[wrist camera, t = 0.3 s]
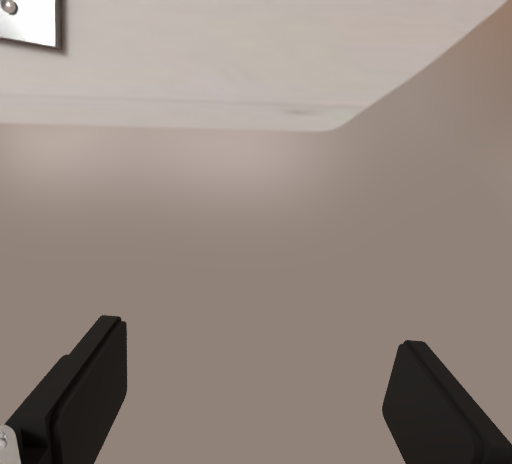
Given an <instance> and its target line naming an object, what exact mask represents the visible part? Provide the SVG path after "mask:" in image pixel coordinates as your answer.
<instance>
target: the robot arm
mask: <svg viewBox="0 0 512 464" xmlns="http://www.w3.org/2000/svg"><path fill="white" fill-rule="evenodd" d="M126 392H127V331H126V322H123V321H121V318H120V317H118V316H117V317H116V316H106V315H102V316H101V317H100V318H99V319H98V320H97V321H96V322H95V324H94V325H93V326H92V327H91V329H90V330H89V331H88V332H87V333H86V335H85V336H84V337H83V338H82V339H81V341H80V342H79V343H78V344H77V345H76V347H75V348H74V349H73V350H72V352H71V353H70V354H69V355H64V356H63V357H62V358H60V359H59V361H58V362H57V363H56V364H55V365H54V366H53V368H52V369H51V370H50V372H48V374H47V375H46V376H45V377H44V378H43V379H42V381H41V382H40V383H39V384H38V385H37V386H36V388H35V389H34V390H33V391H32V392H31V394H30V395H29V396H28V397H27V398H26V399H25V401H24V402H23V403H22V404H21V405H20V407H19V408H18V409H17V410H16V411H15V412H14V414H13V415H12V416H11V417H10V418H9V420H8V421H7V422H6V423H5V424H4V425H1V424H0V464H94V462H95V460H96V458H97V456H98V454H99V452H100V450H101V447H102V445H103V443H104V441H105V439H106V437H107V435H108V433H109V431H110V428H111V426H112V424H113V422H114V420H115V418H116V416H117V414H118V412H119V409H120V407H121V405H122V403H123V401H124V399H125V396H126ZM382 412H383V416H384V419H385V421H386V423H387V425H388V427H389V429H390V431H391V433H392V436H393V438H394V440H395V442H396V444H397V446H398V448H399V450H400V453H401V455H402V457H403V459H404V461H405V463H406V464H512V445H511V443H510V442H509V441H508V440H507V438H506V437H505V436H504V435H503V434H502V433H501V431H500V430H499V429H498V428H497V427H496V425H495V424H494V423H493V422H492V421H491V420H490V418H489V417H488V416H487V415H486V414H485V413H484V411H483V410H482V409H481V408H480V407H479V405H477V403H476V402H475V401H474V400H473V399H472V397H471V396H470V395H469V394H468V393H467V391H466V390H465V389H464V388H463V387H462V385H461V384H460V383H459V382H458V381H457V380H456V378H455V377H454V376H453V375H452V374H451V372H450V371H449V370H448V369H447V368H446V367H445V366H444V364H443V363H442V362H441V361H440V359H439V358H438V357H437V356H436V355H435V354H434V353H433V351H432V350H431V349H430V348H429V347H428V345H427V344H426V343H425V342H422V341H410V340H407V341H405V342H404V343H403V344H400V345H399V347H398V350H397V355H396V358H395V362H394V366H393V369H392V373H391V377H390V380H389V384H388V388H387V391H386V395H385V398H384V402H383V407H382Z"/></svg>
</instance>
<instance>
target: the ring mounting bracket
mask: <svg viewBox="0 0 512 464" xmlns="http://www.w3.org/2000/svg"><path fill="white" fill-rule="evenodd" d="M0 39H4V40H10V41H16V42H22V43H27V44H33V45H39V46H44V47H50V48H56V49H62V36H61V0H0Z"/></svg>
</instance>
